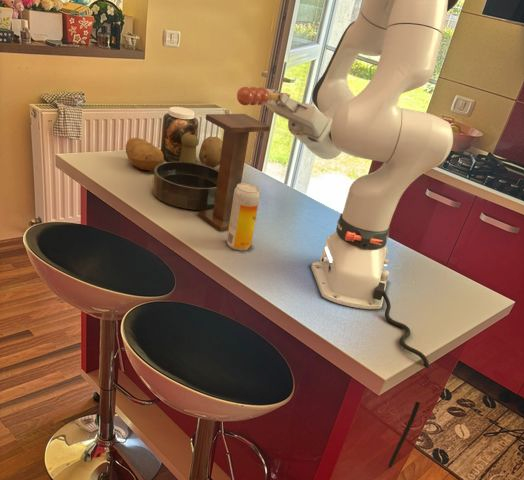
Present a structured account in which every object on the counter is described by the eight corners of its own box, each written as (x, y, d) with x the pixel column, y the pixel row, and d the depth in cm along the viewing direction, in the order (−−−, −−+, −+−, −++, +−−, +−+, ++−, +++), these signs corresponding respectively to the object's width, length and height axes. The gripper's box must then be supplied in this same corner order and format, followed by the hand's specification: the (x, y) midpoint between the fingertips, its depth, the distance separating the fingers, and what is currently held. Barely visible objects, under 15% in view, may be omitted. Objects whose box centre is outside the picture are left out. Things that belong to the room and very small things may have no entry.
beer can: (255, 248, 136) (266, 190, 127) (238, 253, 132) (248, 194, 123) (238, 238, 139) (247, 181, 130) (221, 243, 135) (229, 184, 126)
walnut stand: (229, 210, 153) (244, 113, 137) (252, 225, 147) (270, 126, 132) (194, 216, 145) (205, 114, 130) (216, 231, 140) (231, 127, 125)
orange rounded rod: (280, 102, 139) (284, 85, 137) (291, 107, 137) (294, 90, 135) (232, 102, 129) (234, 84, 127) (242, 107, 127) (245, 89, 125)
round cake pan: (218, 217, 147) (221, 194, 144) (145, 202, 147) (146, 178, 143) (228, 191, 164) (231, 170, 160) (162, 178, 163) (163, 156, 159)
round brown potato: (230, 169, 180) (235, 138, 175) (217, 175, 174) (221, 143, 168) (207, 161, 183) (210, 130, 177) (193, 167, 176) (196, 135, 170)
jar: (153, 153, 180) (155, 105, 171) (182, 151, 187) (186, 104, 178) (172, 165, 173) (176, 116, 165) (202, 163, 180) (207, 116, 172)
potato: (145, 179, 160) (147, 151, 156) (117, 162, 167) (117, 136, 162) (171, 174, 167) (173, 148, 162) (143, 159, 173) (144, 133, 169)
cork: (195, 175, 170) (199, 139, 164) (175, 171, 169) (178, 135, 163) (197, 169, 175) (201, 134, 168) (178, 165, 174) (182, 130, 168)
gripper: (285, 100, 151) (257, 71, 139) (338, 123, 139) (312, 94, 128) (273, 120, 152) (244, 94, 141) (324, 145, 141) (297, 118, 130)
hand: (277, 94), depth 134 cm, fingers closed on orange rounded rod, 2 cm apart
